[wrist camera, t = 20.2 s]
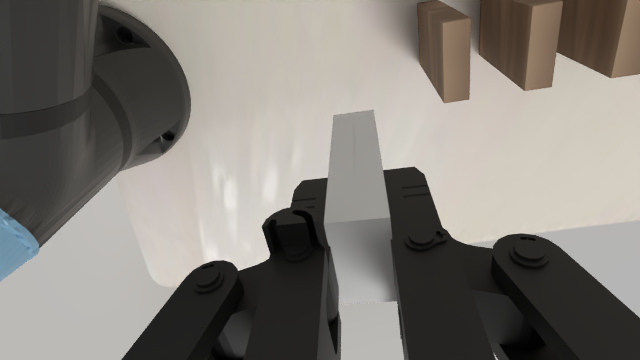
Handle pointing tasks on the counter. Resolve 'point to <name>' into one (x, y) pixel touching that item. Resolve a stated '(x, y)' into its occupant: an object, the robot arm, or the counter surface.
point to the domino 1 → (445, 49)
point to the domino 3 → (602, 35)
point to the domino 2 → (521, 39)
